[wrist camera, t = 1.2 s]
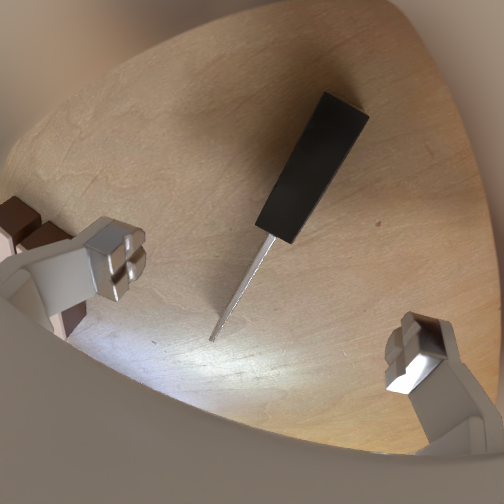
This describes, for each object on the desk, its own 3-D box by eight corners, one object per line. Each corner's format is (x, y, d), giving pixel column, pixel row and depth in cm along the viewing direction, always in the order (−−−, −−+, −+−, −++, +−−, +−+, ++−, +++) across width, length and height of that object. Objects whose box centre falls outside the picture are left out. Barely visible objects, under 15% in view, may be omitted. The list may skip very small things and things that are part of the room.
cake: (14, 195, 28) (-17, 216, 24) (83, 244, 29) (50, 274, 24) (25, 267, 37) (3, 288, 32) (86, 314, 37) (64, 341, 33)
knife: (326, 89, 15) (324, 90, 13) (364, 110, 15) (370, 116, 13) (210, 312, 28) (198, 334, 26) (233, 324, 28) (223, 347, 26)
